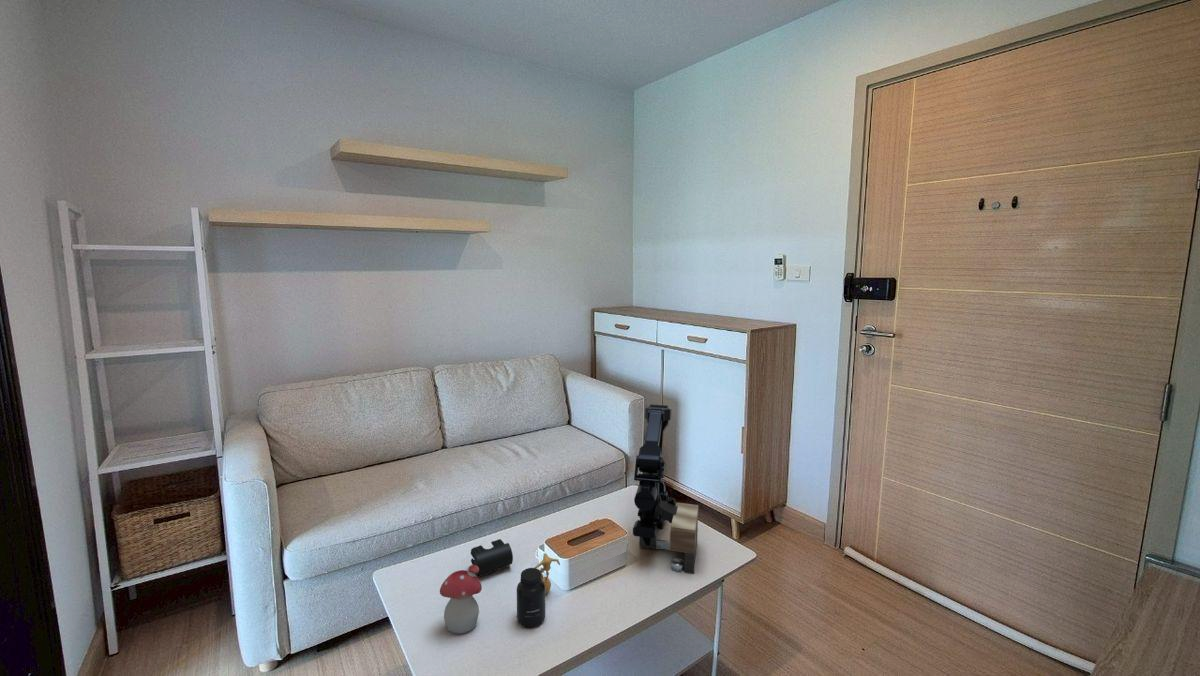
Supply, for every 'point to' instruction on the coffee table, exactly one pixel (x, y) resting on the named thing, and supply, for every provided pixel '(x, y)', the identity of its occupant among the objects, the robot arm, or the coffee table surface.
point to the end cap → (492, 557)
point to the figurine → (546, 567)
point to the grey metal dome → (677, 565)
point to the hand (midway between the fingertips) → (648, 542)
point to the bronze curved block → (685, 533)
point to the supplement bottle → (530, 598)
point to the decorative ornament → (461, 600)
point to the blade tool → (655, 543)
